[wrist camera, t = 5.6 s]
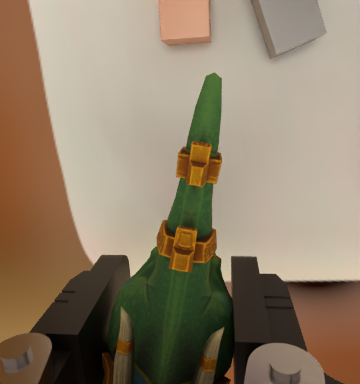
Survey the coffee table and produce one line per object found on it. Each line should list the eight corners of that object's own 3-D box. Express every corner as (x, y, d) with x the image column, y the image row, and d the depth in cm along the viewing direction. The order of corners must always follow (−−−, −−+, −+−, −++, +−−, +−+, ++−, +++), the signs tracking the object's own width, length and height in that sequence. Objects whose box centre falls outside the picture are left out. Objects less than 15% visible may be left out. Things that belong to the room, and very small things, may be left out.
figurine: (123, 390, 13) (-8, 805, 6) (163, 69, 10) (-71, 14, 2) (201, 406, 13) (173, 860, 6) (272, 85, 9) (506, 100, 2)
